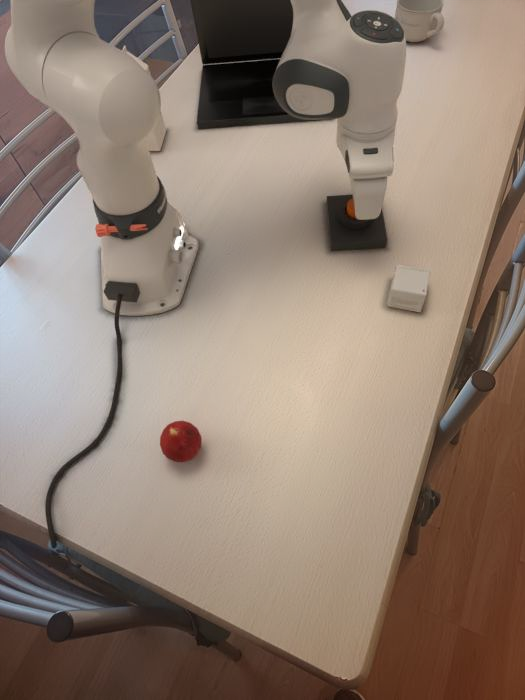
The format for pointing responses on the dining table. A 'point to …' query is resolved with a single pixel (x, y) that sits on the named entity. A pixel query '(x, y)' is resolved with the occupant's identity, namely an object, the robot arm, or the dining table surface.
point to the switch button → (351, 208)
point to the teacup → (419, 18)
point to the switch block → (353, 227)
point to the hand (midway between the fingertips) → (358, 199)
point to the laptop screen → (242, 29)
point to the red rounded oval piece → (180, 441)
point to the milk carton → (159, 131)
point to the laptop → (239, 95)
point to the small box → (408, 288)
